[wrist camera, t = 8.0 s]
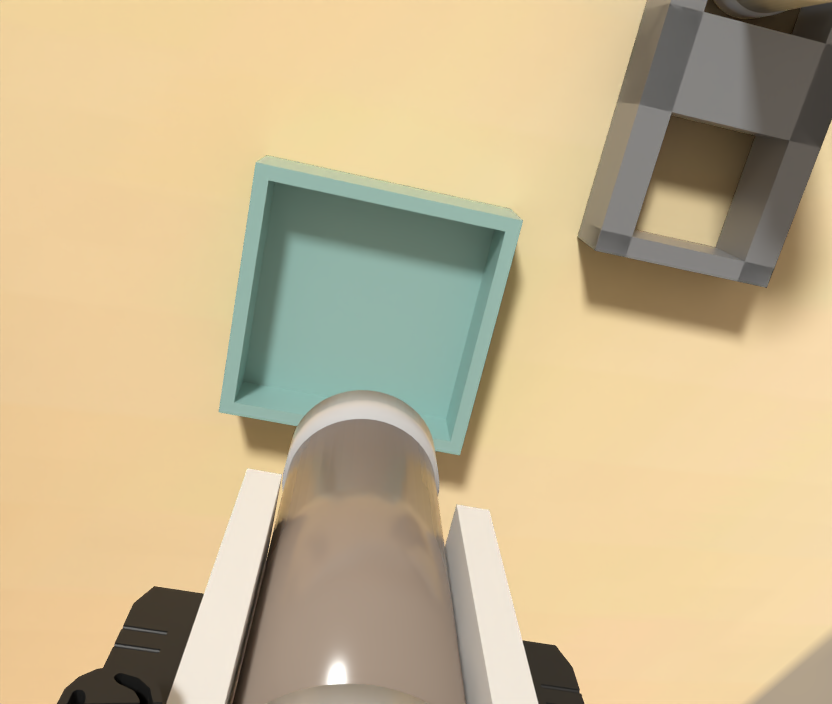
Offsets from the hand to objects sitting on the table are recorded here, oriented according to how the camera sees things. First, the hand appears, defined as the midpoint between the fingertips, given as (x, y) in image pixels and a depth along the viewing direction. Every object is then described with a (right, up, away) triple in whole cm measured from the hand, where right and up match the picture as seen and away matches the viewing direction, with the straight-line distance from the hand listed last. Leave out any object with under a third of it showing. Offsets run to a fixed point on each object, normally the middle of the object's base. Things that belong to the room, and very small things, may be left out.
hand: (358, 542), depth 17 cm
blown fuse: (0, +1, +4) cm, 4 cm away
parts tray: (-1, +7, +19) cm, 20 cm away
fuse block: (+14, +16, +16) cm, 27 cm away
